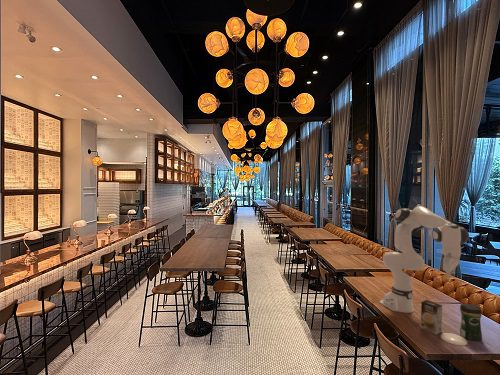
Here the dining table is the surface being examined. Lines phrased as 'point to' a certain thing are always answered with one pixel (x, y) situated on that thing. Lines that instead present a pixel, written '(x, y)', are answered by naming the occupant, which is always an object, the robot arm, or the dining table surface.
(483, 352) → the dining table surface
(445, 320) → the dining table surface
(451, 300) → the dining table surface
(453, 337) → the cream glossy domed part
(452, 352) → the dining table surface
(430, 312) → the coffee box
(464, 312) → the coffee jar
